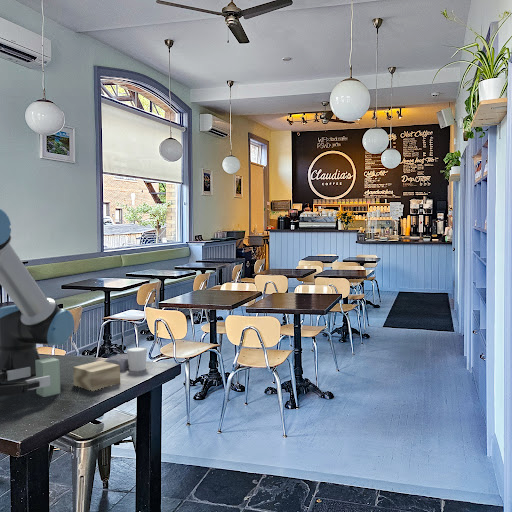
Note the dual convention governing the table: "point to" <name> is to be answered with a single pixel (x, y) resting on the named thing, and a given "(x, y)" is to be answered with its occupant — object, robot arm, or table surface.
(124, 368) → the stone block
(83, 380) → the oak block
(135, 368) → the white cup
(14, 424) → the table surface
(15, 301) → the robot arm
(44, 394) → the sage block
